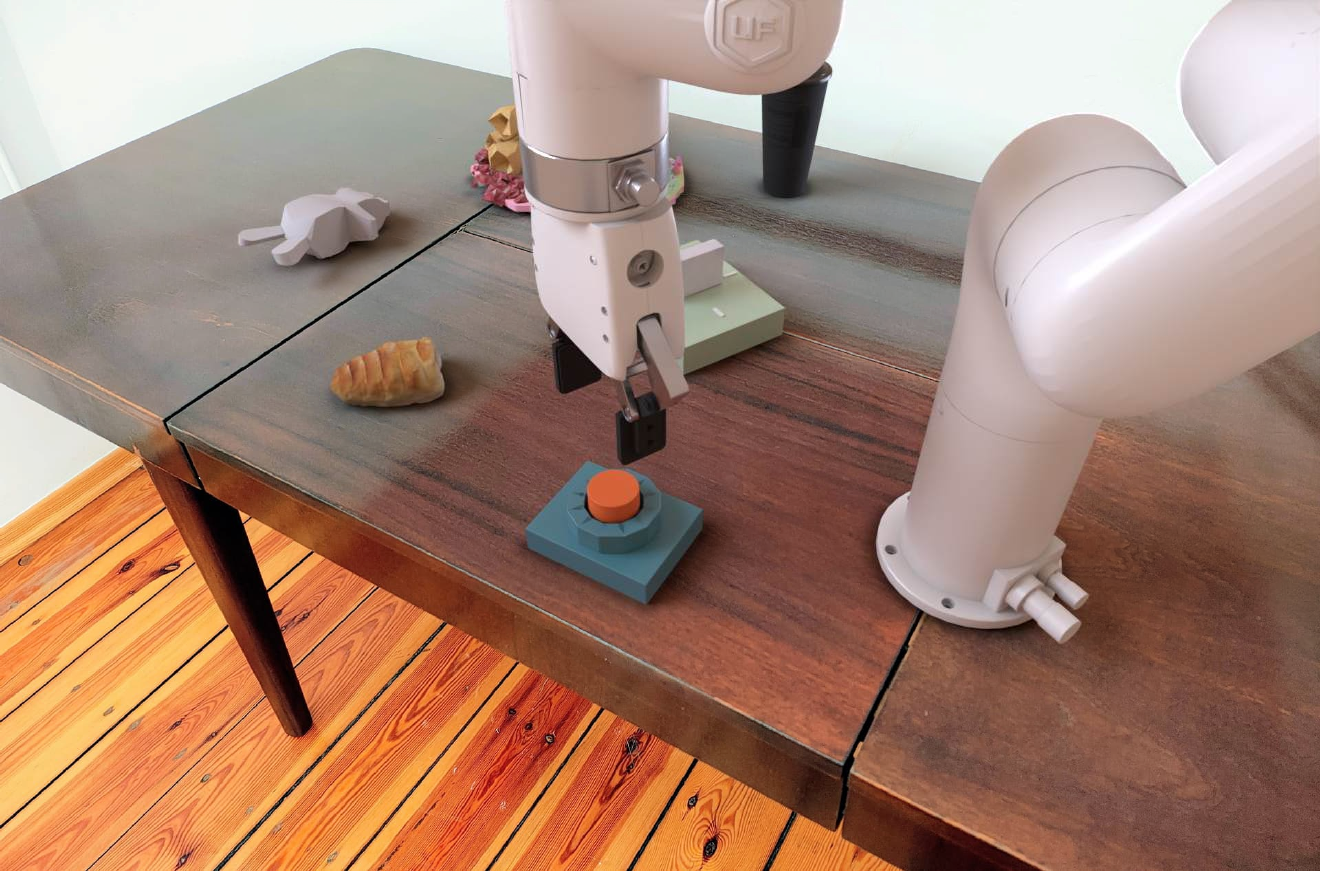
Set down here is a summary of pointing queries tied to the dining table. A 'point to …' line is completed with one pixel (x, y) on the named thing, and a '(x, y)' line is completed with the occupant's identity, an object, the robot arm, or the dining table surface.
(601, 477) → the button
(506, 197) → the pastel sphere sculpture
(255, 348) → the dining table surface
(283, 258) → the bunny figurine
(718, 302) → the panel
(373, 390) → the pastry
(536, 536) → the button block
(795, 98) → the drinking cup
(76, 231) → the dining table surface
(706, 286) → the white block with red
